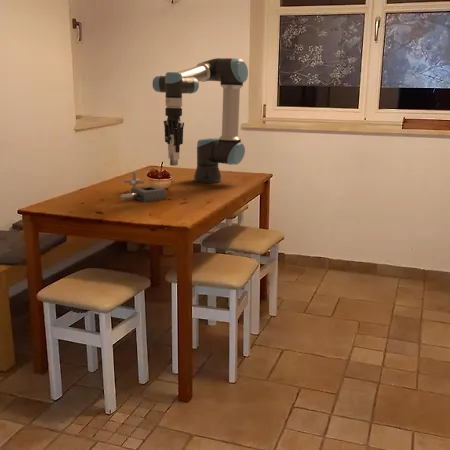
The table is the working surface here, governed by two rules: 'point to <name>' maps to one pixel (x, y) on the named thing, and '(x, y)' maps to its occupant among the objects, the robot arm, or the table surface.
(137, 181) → the pipe connector
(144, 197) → the block
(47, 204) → the table surface
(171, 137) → the chuck key
